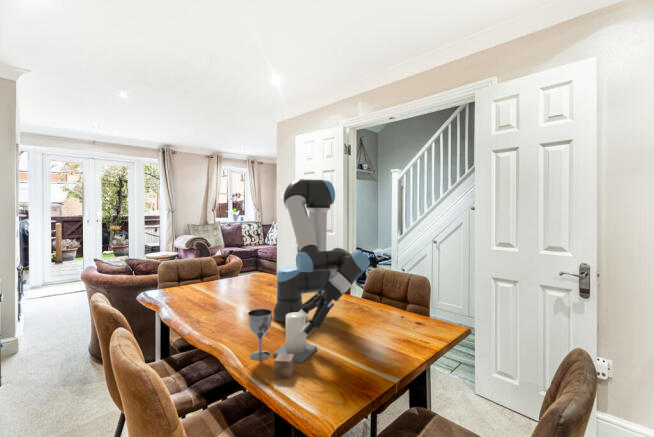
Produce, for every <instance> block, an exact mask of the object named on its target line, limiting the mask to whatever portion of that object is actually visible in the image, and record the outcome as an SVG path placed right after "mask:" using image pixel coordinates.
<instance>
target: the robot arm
mask: <svg viewBox="0 0 654 437" xmlns="http://www.w3.org/2000/svg"><path fill="white" fill-rule="evenodd" d="M335 200H336V192H335V187H334V185H333V183H332V182H331V181H330V180H327V179H326V180H324V179H307V178H306V179H305V178H300V179H296V180H293V181H292V182H290V183H289V184H288V185H287V187H286V189H285V191H284V193H283V205H284V207H285V209H287V211H288V214H289V217H290V222H291V224H292V225H291V226H292V229H293V232H294V236H295V240H296V244H297V248H298V252H297V254H296V257H295V265H289V266H285V267H282V268H280V269H279V270H278V271H277V274H276V280H275V281H276V303H275V306H274V310H273V312H272V315H273V316H272V317H273V318H272V319H274V320H275V321H276V322H281V323H286V315H287V314H289V313H293V312H300V313H304V314H305V315H306V316H307V315H309V313H310V311H312V310H314V309H315V308H316V309H315V312H314V314H313V316H312V317H311V319H309V320H308V321H307V322H306V325H305V326H304V327H303V329H302V330H301V331H300V332H299V333H298V334H297V335H296V336H295V337H296V338H297V339H298V340H299V341H300V342H302V341H303V340H304V339H305V338H307V337H308V336H309V335H310V333H312V331H313V330H314V329H316V328H317V329H320V328H321V326H322V324H323V322H324V320H326V317H328V314H329V312H330V311H331V309H332V308H333V307H334V306H335V303H334V302H338V301H339V300H340V299H341V298H342V297H343V294H345V293H346V292H347V291H348V290H349V289H350V288H351V287H352V285H353V284H354V283H355V282H356V281H357V280H358V279H359V277H360V276H362V274H363V273H364V272H365V271H366V269H367V268H368V267H369V266H370V264H371V262H370V261H371V260H370V259H369V258H368V257H367V256H366V255H365V254H364V253H363V252H361V251H360V250H358V249H357V250H354V251H353V252H352V253H350V252H349V251H347V250H346V249H345V248H344V249H343V248H342V247H334V248H333V249H331V250H327V228H328V225H327V223H328V212H329V210H330V209H331V205H334V203H335ZM334 270H335V272H334ZM311 293H315V294H314V295H313V296H311V297H310V298H309V299H308V300H306V301H305V302H303V298H302V297H303V294H311ZM333 301H334V302H333Z"/></svg>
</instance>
